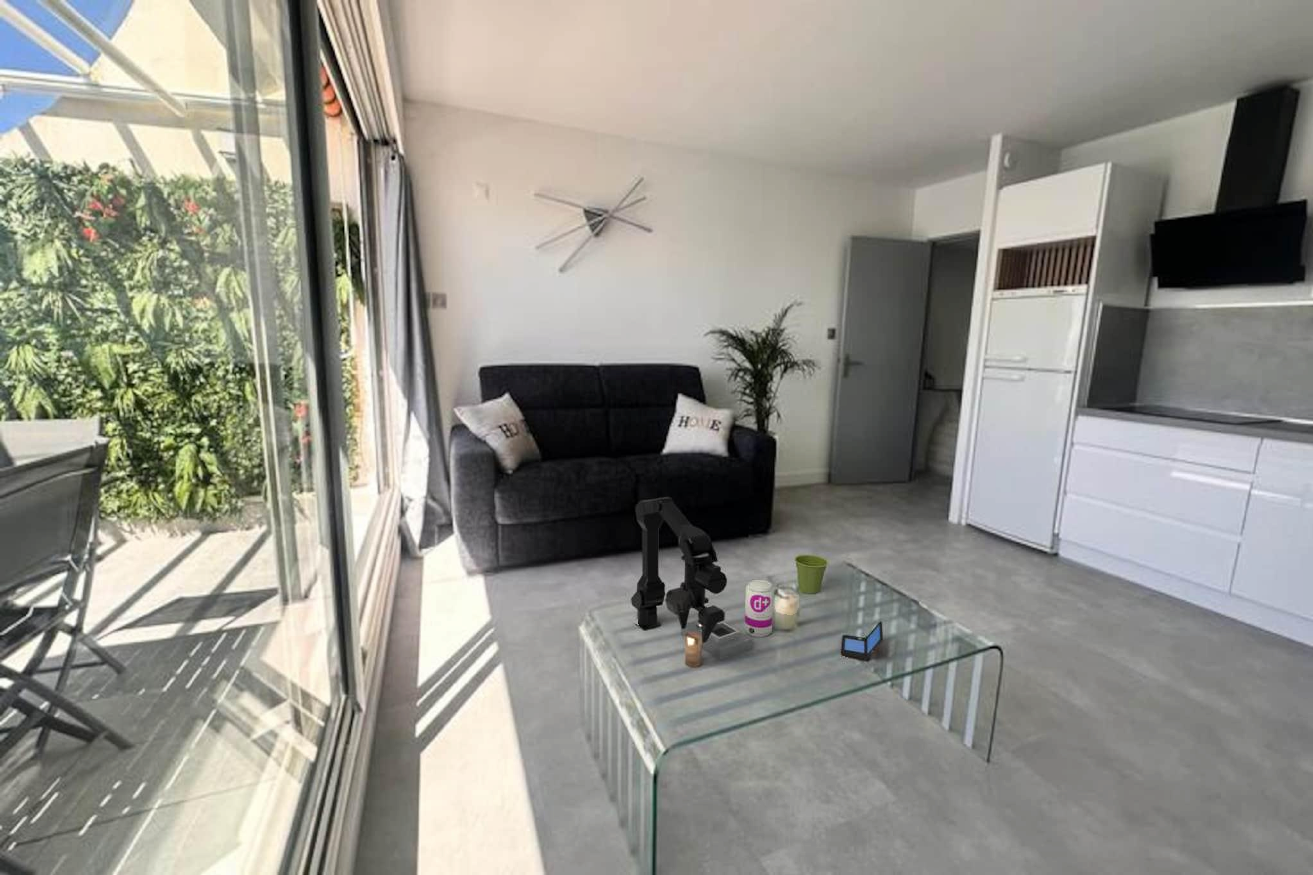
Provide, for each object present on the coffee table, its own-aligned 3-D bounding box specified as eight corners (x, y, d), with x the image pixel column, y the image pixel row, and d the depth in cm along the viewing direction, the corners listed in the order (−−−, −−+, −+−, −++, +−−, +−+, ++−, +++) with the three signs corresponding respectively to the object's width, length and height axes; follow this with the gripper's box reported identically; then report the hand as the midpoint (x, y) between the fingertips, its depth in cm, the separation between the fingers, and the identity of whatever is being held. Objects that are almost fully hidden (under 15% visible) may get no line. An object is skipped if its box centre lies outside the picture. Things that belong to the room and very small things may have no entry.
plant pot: (793, 595, 203) (795, 564, 201) (791, 582, 214) (793, 553, 213) (828, 598, 201) (830, 567, 199) (824, 585, 213) (826, 556, 211)
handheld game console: (841, 637, 173) (843, 614, 172) (880, 644, 170) (882, 620, 169) (839, 657, 162) (841, 632, 161) (881, 665, 158) (883, 639, 157)
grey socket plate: (680, 634, 173) (681, 620, 173) (711, 624, 180) (712, 610, 179) (720, 660, 158) (720, 645, 158) (752, 648, 165) (752, 634, 165)
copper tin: (681, 661, 158) (682, 634, 156) (694, 657, 160) (695, 630, 159) (691, 669, 154) (692, 641, 153) (704, 664, 156) (705, 636, 155)
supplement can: (771, 639, 171) (773, 590, 169) (743, 636, 173) (745, 588, 171) (771, 626, 179) (773, 580, 177) (744, 624, 181) (746, 578, 179)
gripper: (650, 574, 157) (649, 629, 159) (692, 599, 142) (691, 658, 144) (683, 567, 163) (682, 619, 165) (727, 589, 148) (725, 646, 150)
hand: (693, 635), depth 156 cm, fingers open, 9 cm apart
